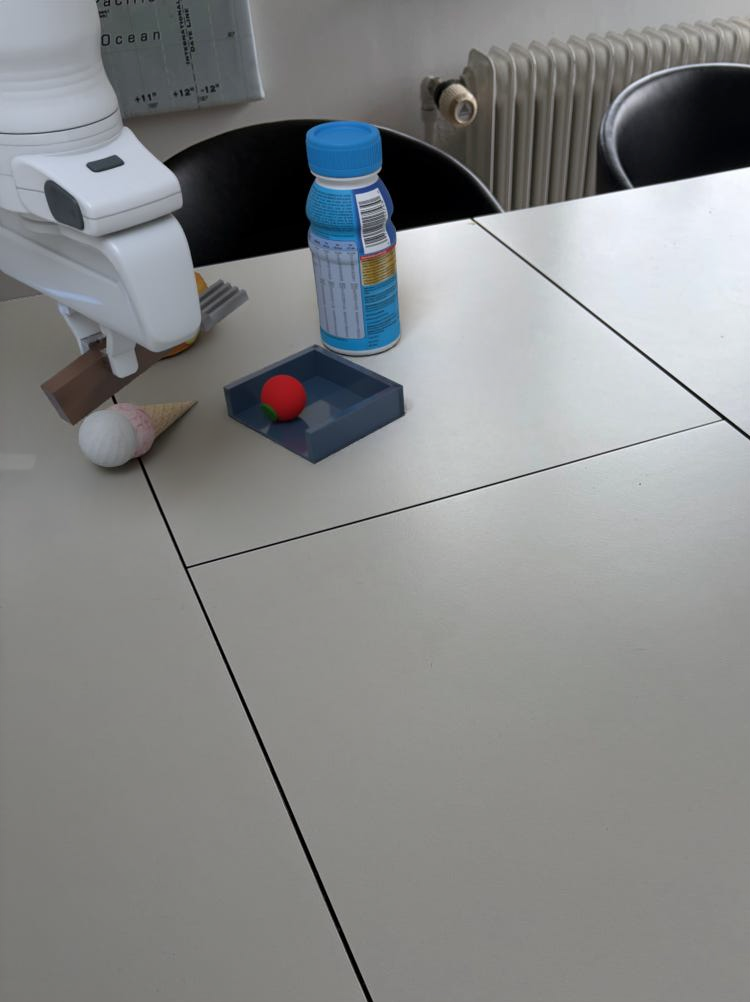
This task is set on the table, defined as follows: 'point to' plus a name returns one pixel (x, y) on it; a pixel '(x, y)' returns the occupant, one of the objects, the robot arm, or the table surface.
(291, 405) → the tomato
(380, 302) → the beverage bottle
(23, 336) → the table surface
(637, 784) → the table surface
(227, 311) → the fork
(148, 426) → the ice cream cone
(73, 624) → the table surface
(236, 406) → the tray
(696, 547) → the table surface
